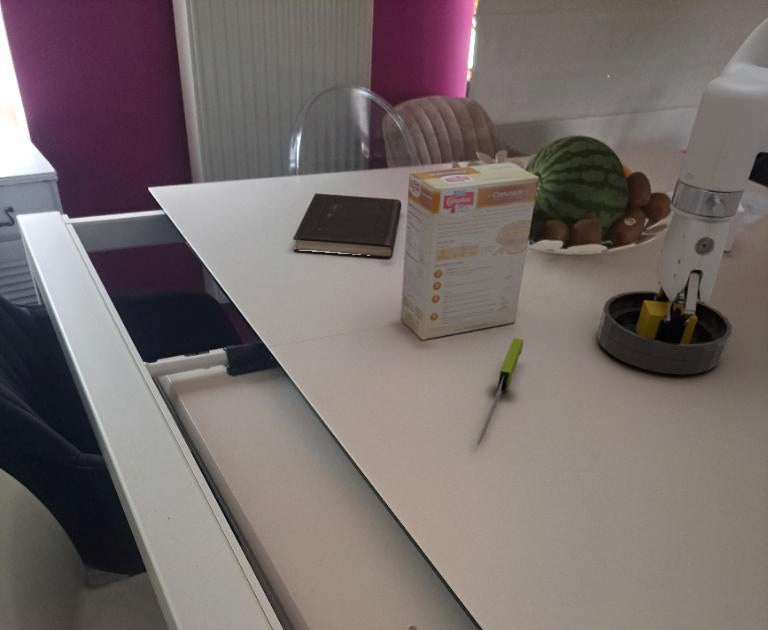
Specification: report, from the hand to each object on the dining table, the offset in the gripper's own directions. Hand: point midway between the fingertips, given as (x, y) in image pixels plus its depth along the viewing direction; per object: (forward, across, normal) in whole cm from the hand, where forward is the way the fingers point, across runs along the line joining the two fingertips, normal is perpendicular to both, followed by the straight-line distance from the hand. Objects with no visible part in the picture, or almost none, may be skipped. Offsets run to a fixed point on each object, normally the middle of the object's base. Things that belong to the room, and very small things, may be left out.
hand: (661, 339), depth 98 cm
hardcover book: (+2, +35, +46) cm, 58 cm away
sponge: (+1, 0, 0) cm, 1 cm away
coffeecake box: (+2, +3, +27) cm, 27 cm away
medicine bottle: (+1, +43, -17) cm, 46 cm away
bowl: (+1, 0, 0) cm, 1 cm away
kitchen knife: (+2, -18, +22) cm, 28 cm away
